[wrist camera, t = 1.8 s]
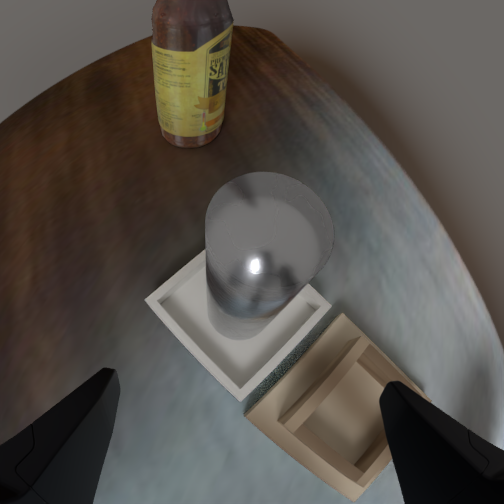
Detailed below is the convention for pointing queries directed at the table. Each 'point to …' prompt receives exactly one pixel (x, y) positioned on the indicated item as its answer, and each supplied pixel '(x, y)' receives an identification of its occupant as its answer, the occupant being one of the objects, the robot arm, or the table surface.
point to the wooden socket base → (333, 408)
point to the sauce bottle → (191, 68)
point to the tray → (224, 349)
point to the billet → (261, 249)
